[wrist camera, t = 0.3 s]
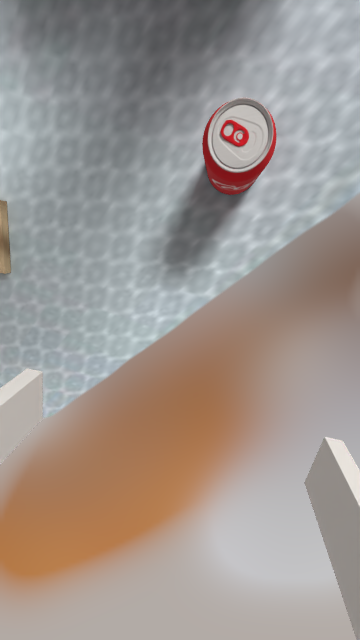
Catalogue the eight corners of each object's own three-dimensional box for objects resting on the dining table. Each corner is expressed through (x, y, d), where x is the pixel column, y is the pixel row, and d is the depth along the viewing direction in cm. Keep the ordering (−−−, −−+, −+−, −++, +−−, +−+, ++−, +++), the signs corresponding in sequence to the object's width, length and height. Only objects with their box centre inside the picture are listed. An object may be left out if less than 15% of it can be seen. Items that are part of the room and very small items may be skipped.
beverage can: (241, 204, 35) (251, 193, 23) (198, 179, 34) (187, 156, 23) (270, 154, 32) (297, 114, 21) (224, 126, 32) (226, 72, 21)
